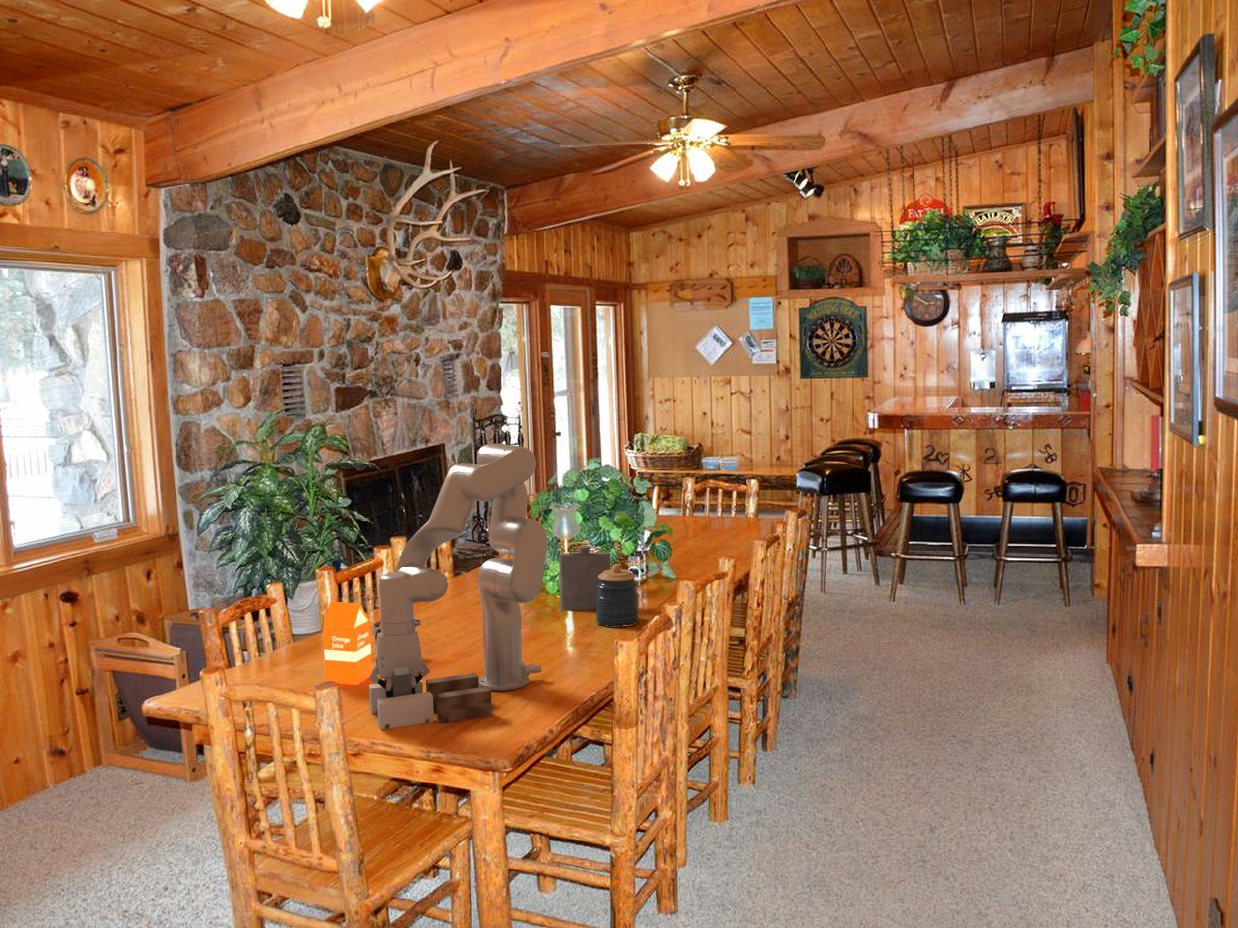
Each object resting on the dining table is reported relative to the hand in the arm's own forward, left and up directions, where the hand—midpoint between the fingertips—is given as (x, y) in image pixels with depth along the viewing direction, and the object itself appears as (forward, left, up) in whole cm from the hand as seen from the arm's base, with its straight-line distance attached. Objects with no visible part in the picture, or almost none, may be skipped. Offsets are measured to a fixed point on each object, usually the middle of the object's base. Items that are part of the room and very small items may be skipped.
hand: (400, 703), depth 253 cm
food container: (-6, -46, -3) cm, 46 cm away
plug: (0, 0, -1) cm, 1 cm away
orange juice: (+7, -32, -3) cm, 33 cm away
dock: (0, 0, -3) cm, 3 cm away
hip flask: (-72, -71, -3) cm, 101 cm away
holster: (-13, +2, -3) cm, 13 cm away
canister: (-75, -52, -3) cm, 91 cm away
